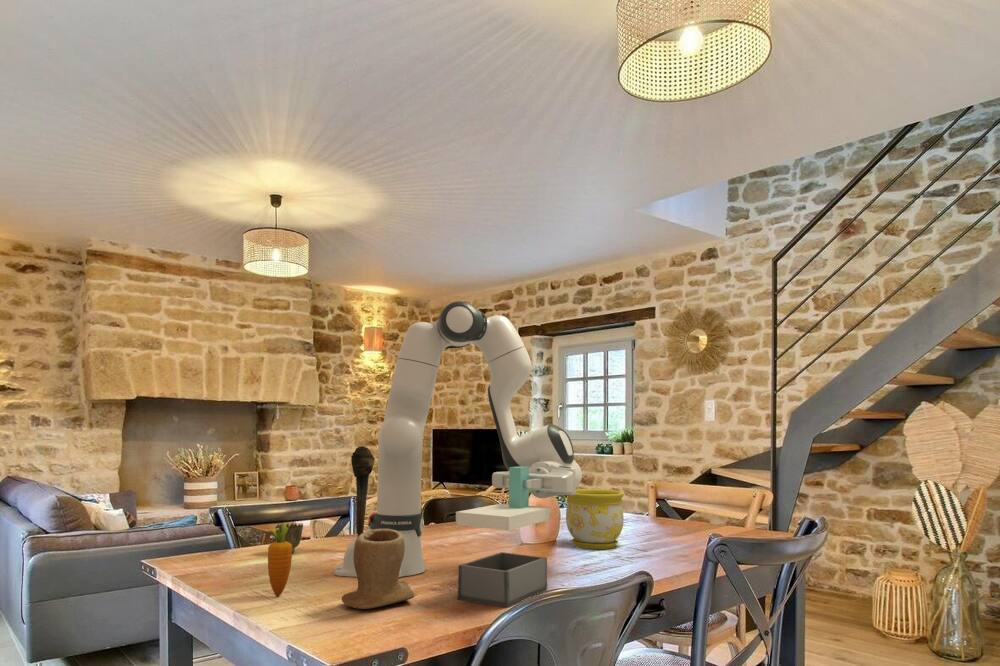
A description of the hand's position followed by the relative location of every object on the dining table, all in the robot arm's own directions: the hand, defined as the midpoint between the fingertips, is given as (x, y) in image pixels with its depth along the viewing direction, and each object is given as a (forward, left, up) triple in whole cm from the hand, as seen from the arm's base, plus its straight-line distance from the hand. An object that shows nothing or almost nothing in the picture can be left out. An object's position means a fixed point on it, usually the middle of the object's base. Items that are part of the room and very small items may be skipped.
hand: (517, 483), depth 155 cm
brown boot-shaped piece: (-28, -15, -24) cm, 39 cm away
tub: (-3, -5, -23) cm, 24 cm away
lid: (-3, -5, -8) cm, 10 cm away
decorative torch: (-45, +42, -24) cm, 66 cm away
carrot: (-51, -10, -24) cm, 57 cm away
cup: (-64, +37, -24) cm, 77 cm away
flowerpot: (+25, +57, -24) cm, 67 cm away
